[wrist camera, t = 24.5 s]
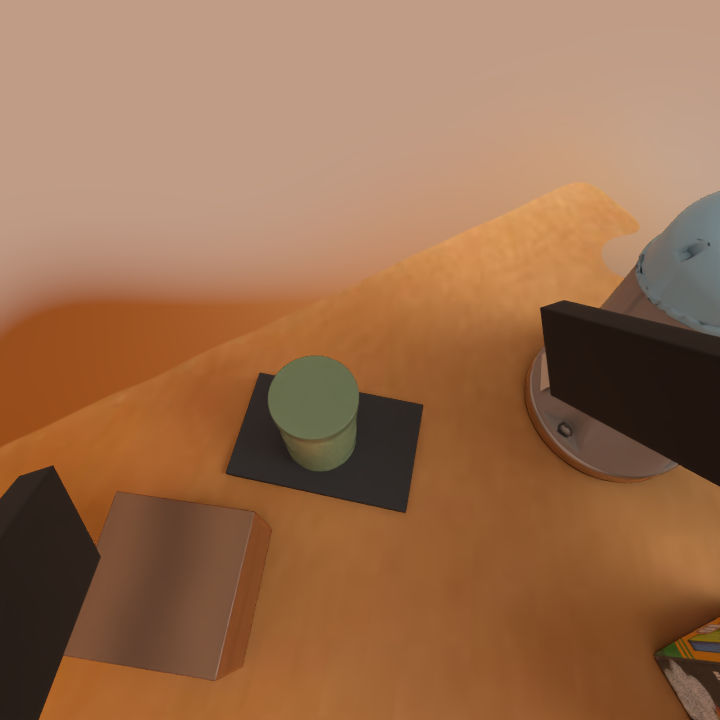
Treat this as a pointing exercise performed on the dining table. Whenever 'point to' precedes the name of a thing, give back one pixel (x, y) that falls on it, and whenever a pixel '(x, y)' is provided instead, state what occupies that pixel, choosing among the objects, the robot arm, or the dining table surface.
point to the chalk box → (695, 670)
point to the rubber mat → (358, 473)
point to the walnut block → (172, 587)
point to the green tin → (316, 411)
